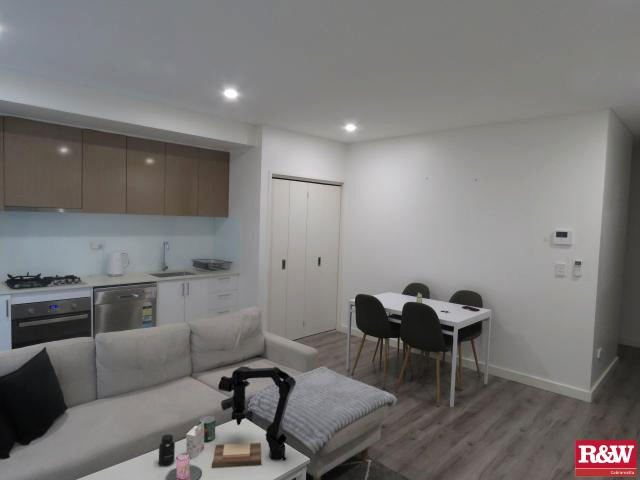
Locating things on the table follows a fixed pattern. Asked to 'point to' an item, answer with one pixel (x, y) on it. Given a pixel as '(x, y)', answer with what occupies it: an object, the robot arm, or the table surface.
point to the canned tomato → (208, 427)
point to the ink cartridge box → (195, 440)
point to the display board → (254, 461)
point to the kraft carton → (236, 452)
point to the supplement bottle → (166, 450)
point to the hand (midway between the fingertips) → (238, 424)
